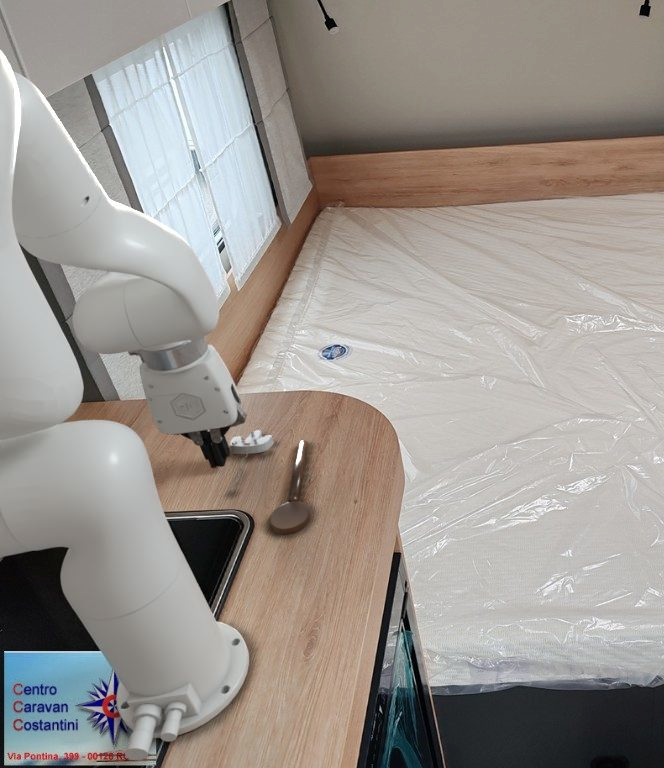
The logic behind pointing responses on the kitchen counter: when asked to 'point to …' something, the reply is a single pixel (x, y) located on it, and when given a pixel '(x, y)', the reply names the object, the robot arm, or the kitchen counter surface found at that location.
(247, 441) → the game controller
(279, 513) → the spoon
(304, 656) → the kitchen counter surface
